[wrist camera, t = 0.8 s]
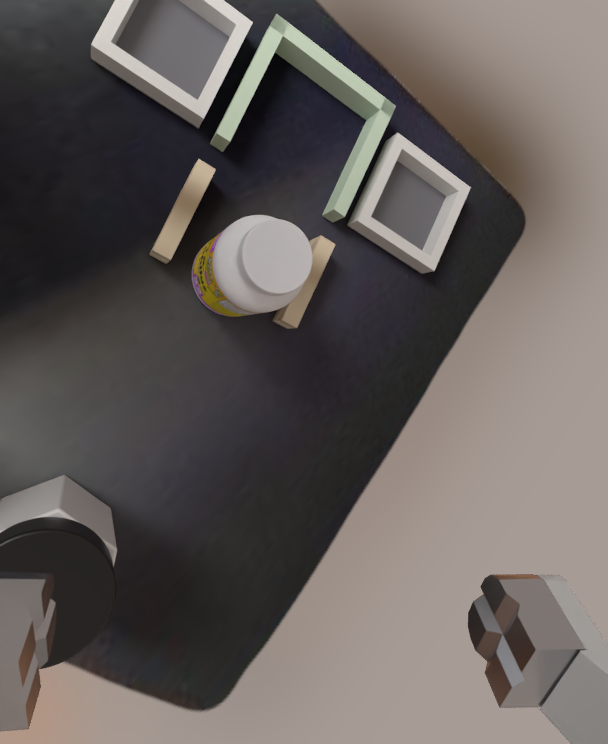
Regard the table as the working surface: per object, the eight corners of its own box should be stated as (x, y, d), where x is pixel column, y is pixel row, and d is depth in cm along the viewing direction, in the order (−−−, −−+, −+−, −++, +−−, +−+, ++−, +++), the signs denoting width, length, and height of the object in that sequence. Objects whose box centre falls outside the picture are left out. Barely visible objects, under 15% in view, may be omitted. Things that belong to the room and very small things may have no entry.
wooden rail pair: (286, 328, 48) (296, 327, 46) (149, 254, 43) (152, 249, 41) (323, 249, 49) (335, 244, 47) (192, 168, 44) (198, 158, 42)
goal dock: (332, 222, 49) (344, 216, 47) (209, 143, 45) (216, 132, 42) (381, 116, 50) (396, 106, 48) (267, 30, 46) (276, 13, 44)
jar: (10, 606, 41) (-19, 704, 30) (-32, 508, 40) (-78, 573, 28) (128, 554, 44) (142, 626, 33) (93, 461, 43) (95, 503, 31)
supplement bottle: (204, 225, 45) (247, 182, 33) (276, 256, 47) (340, 227, 35) (178, 301, 44) (212, 286, 32) (252, 328, 47) (309, 324, 35)
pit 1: (198, 129, 44) (203, 118, 42) (90, 59, 41) (90, 44, 39) (245, 36, 45) (252, 22, 43) (143, -39, 42) (146, -58, 40)
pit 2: (421, 273, 53) (434, 271, 51) (346, 225, 50) (357, 220, 48) (456, 193, 54) (470, 187, 52) (385, 141, 51) (397, 132, 49)
